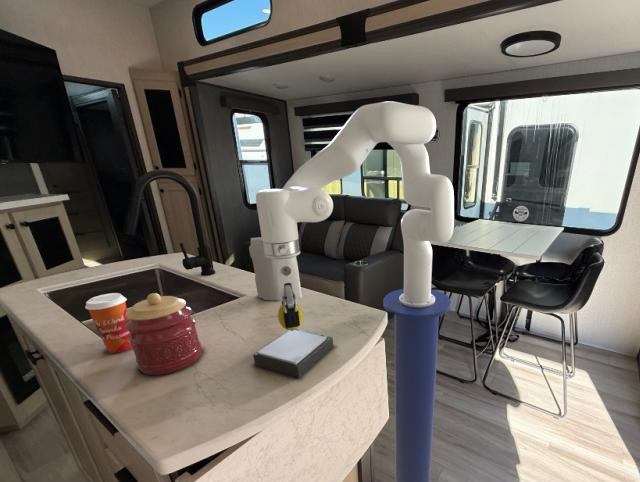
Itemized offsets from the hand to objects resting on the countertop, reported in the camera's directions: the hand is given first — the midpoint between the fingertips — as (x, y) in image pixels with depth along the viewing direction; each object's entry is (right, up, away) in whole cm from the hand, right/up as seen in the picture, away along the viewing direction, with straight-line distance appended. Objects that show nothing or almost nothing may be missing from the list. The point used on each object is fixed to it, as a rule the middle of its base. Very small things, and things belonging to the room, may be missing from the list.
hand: (291, 320), depth 76 cm
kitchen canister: (-30, -10, +2) cm, 32 cm away
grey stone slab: (-21, +4, +38) cm, 43 cm away
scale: (0, -9, +4) cm, 10 cm away
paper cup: (-47, -8, +7) cm, 48 cm away
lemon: (0, -3, +1) cm, 3 cm away
